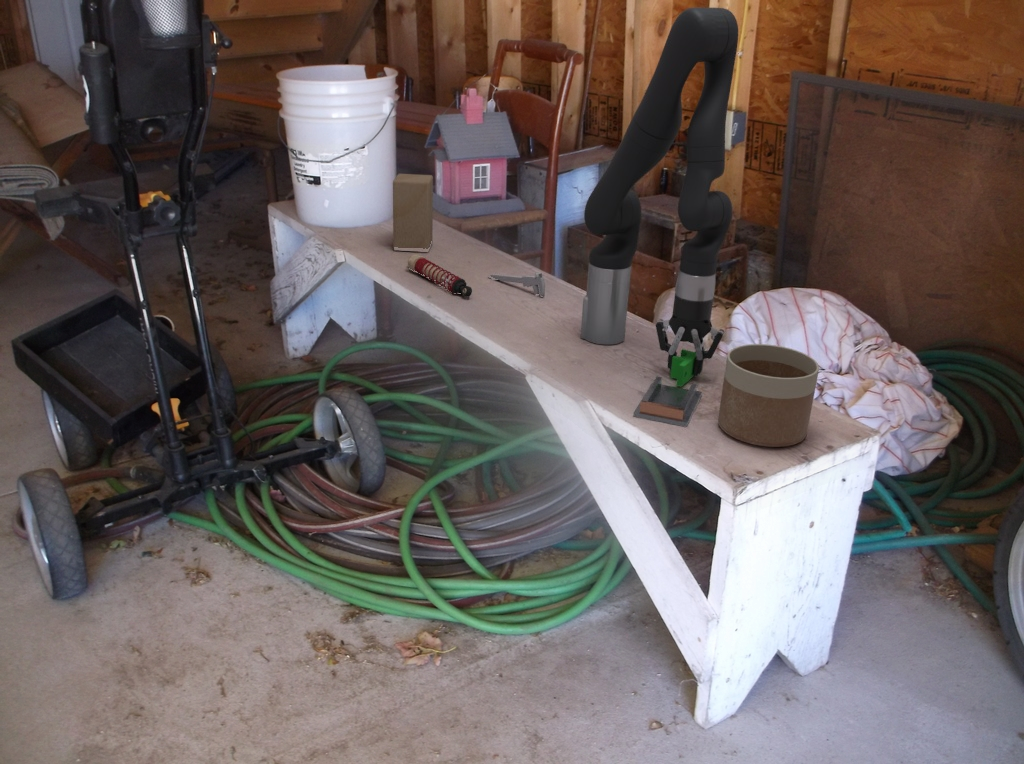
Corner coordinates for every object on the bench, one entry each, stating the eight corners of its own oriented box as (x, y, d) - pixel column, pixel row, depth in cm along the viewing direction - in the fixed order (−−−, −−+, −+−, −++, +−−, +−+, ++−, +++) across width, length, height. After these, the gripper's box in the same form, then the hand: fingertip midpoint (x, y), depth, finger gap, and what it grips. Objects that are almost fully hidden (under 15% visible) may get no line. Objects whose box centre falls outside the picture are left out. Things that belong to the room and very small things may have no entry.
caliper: (544, 298, 236) (546, 274, 234) (541, 299, 236) (543, 275, 233) (489, 277, 250) (490, 254, 247) (486, 278, 249) (487, 255, 246)
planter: (755, 404, 183) (766, 337, 178) (824, 435, 172) (838, 366, 166) (699, 423, 175) (708, 354, 169) (767, 458, 163) (780, 385, 158)
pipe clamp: (685, 364, 199) (688, 344, 197) (702, 369, 197) (705, 348, 195) (664, 382, 190) (666, 361, 188) (681, 386, 188) (684, 365, 187)
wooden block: (393, 251, 267) (392, 180, 259) (398, 242, 276) (397, 173, 268) (428, 253, 267) (429, 182, 259) (432, 243, 276) (433, 174, 268)
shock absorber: (480, 286, 232) (419, 253, 254) (465, 281, 229) (405, 248, 251) (473, 304, 233) (413, 269, 255) (458, 299, 230) (399, 265, 252)
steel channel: (633, 416, 176) (634, 402, 175) (651, 386, 189) (653, 373, 188) (686, 426, 173) (688, 413, 172) (701, 395, 186) (703, 382, 185)
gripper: (733, 293, 188) (722, 372, 195) (663, 282, 192) (653, 360, 199) (727, 304, 181) (715, 386, 188) (654, 293, 185) (645, 373, 193)
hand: (684, 372), depth 194 cm, fingers closed on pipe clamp, 4 cm apart
